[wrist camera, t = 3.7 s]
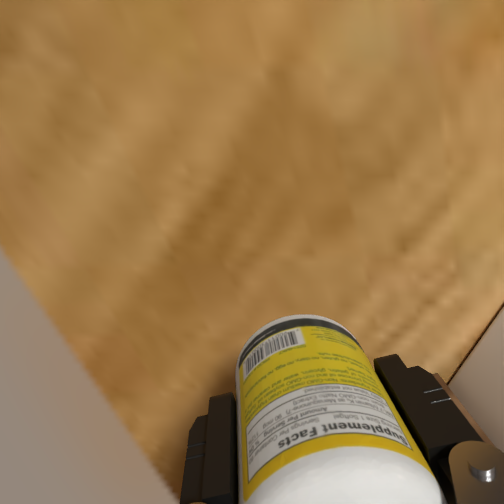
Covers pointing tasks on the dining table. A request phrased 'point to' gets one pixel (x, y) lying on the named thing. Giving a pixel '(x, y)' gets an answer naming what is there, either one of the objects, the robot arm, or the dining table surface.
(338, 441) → the supplement bottle
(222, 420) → the robot arm
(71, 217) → the dining table surface
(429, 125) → the dining table surface
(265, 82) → the dining table surface
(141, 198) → the dining table surface
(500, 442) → the medicine bottle
